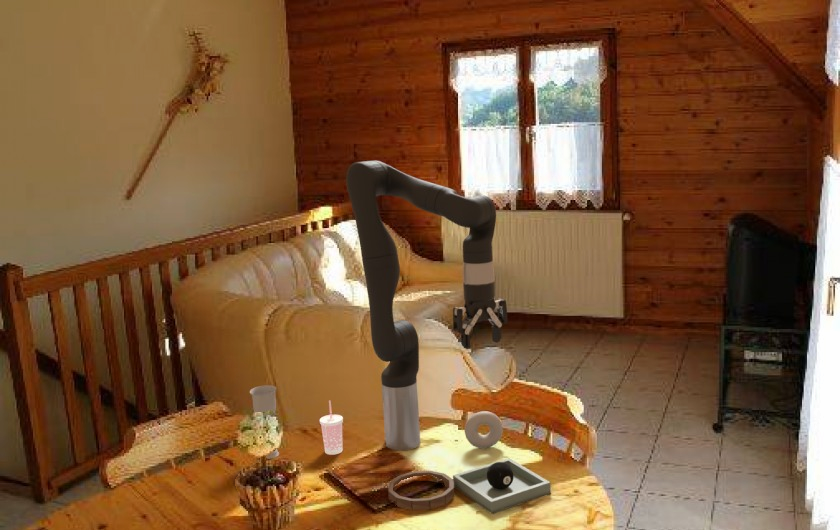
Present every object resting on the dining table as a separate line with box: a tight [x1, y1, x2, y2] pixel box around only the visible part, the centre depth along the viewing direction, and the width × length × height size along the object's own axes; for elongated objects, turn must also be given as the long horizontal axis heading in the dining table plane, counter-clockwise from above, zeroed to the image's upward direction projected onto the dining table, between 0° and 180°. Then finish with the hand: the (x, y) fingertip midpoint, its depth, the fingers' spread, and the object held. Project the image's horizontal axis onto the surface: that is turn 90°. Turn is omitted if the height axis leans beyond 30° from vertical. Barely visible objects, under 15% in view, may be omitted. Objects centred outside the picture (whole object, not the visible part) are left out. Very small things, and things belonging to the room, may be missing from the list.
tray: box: [452, 457, 552, 515], centre depth 187 cm, size 16×16×3 cm
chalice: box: [249, 384, 280, 460], centre depth 212 cm, size 7×7×18 cm
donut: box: [464, 410, 504, 449], centre depth 210 cm, size 10×4×10 cm, turn 96°
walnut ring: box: [387, 470, 455, 511], centre depth 187 cm, size 15×15×2 cm
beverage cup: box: [319, 400, 344, 456], centre depth 213 cm, size 6×6×14 cm
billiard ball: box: [487, 461, 514, 489], centre depth 186 cm, size 6×6×6 cm
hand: (481, 345), depth 197 cm, fingers open, 8 cm apart
